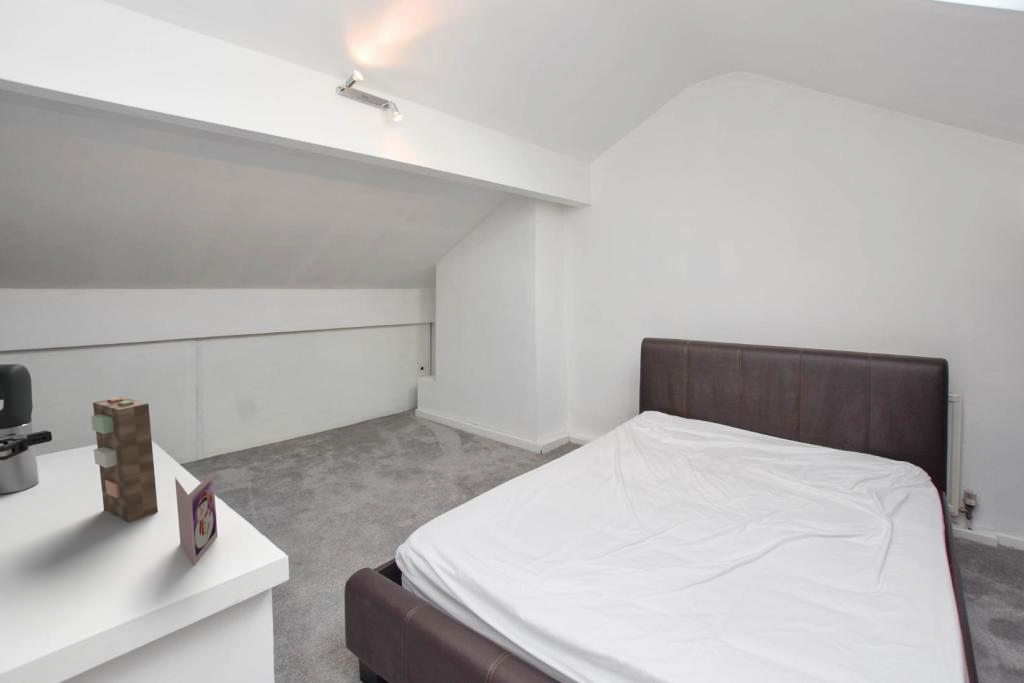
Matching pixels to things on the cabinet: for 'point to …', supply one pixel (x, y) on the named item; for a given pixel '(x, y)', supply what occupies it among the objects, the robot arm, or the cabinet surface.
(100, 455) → the key middle
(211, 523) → the greeting card
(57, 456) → the cabinet surface
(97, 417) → the key top
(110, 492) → the block
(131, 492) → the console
